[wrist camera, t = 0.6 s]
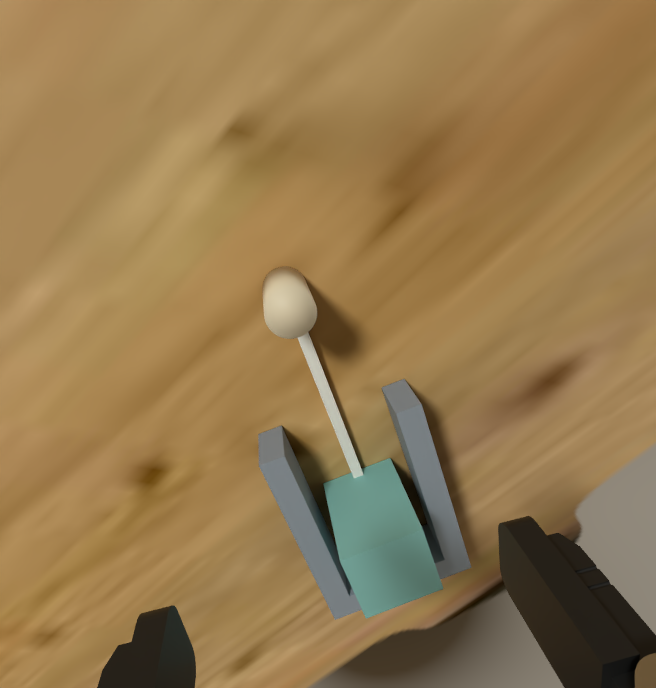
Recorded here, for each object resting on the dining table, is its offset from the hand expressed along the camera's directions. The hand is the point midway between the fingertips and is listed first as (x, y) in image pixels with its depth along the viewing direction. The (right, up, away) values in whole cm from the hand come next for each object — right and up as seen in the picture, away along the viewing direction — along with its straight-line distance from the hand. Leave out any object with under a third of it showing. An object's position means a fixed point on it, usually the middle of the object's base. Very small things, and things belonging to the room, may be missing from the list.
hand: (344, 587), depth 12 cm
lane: (+2, -4, +22) cm, 23 cm away
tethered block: (0, +2, +20) cm, 20 cm away
